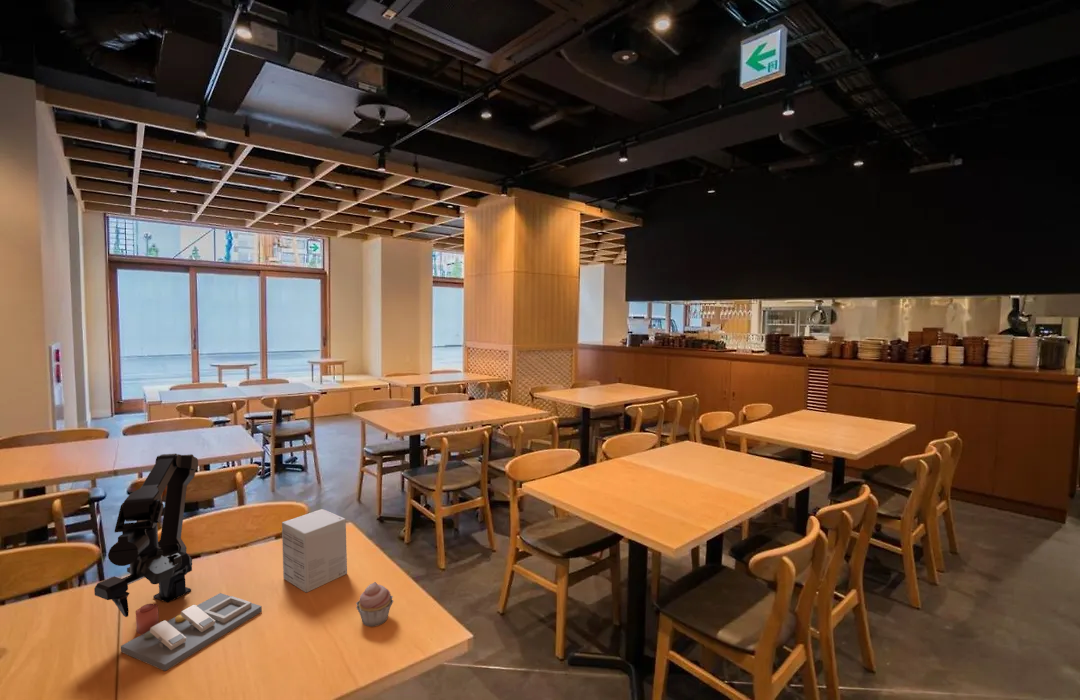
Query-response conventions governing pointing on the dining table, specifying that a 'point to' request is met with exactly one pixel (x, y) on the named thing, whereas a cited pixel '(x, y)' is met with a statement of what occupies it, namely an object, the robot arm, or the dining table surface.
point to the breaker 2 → (198, 618)
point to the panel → (192, 632)
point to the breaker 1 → (168, 634)
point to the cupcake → (374, 605)
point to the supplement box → (314, 549)
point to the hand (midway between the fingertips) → (147, 606)
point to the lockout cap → (146, 618)
